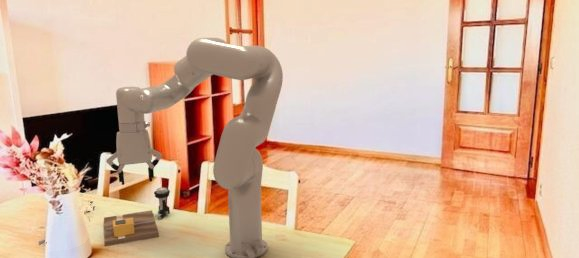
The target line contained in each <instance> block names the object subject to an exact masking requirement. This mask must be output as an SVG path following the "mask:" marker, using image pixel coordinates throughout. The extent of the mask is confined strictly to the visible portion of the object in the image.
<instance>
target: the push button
mask: <svg viewBox="0 0 579 258" xmlns="http://www.w3.org/2000/svg"><path fill="white" fill-rule="evenodd" d="M170 192H171V191H170V190H169V189H168V188H167V187H158V188H157V189H156V190H155V191H154V192H153V193H154V198H157V199H158V203H159V204H158V211H157V213H158V215H157V219H158V220H160V219H164V218H165V217H166V216H169V214H170V211H171V210H170V206H168V205H167V198H168V197H169V196H170Z"/></svg>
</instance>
